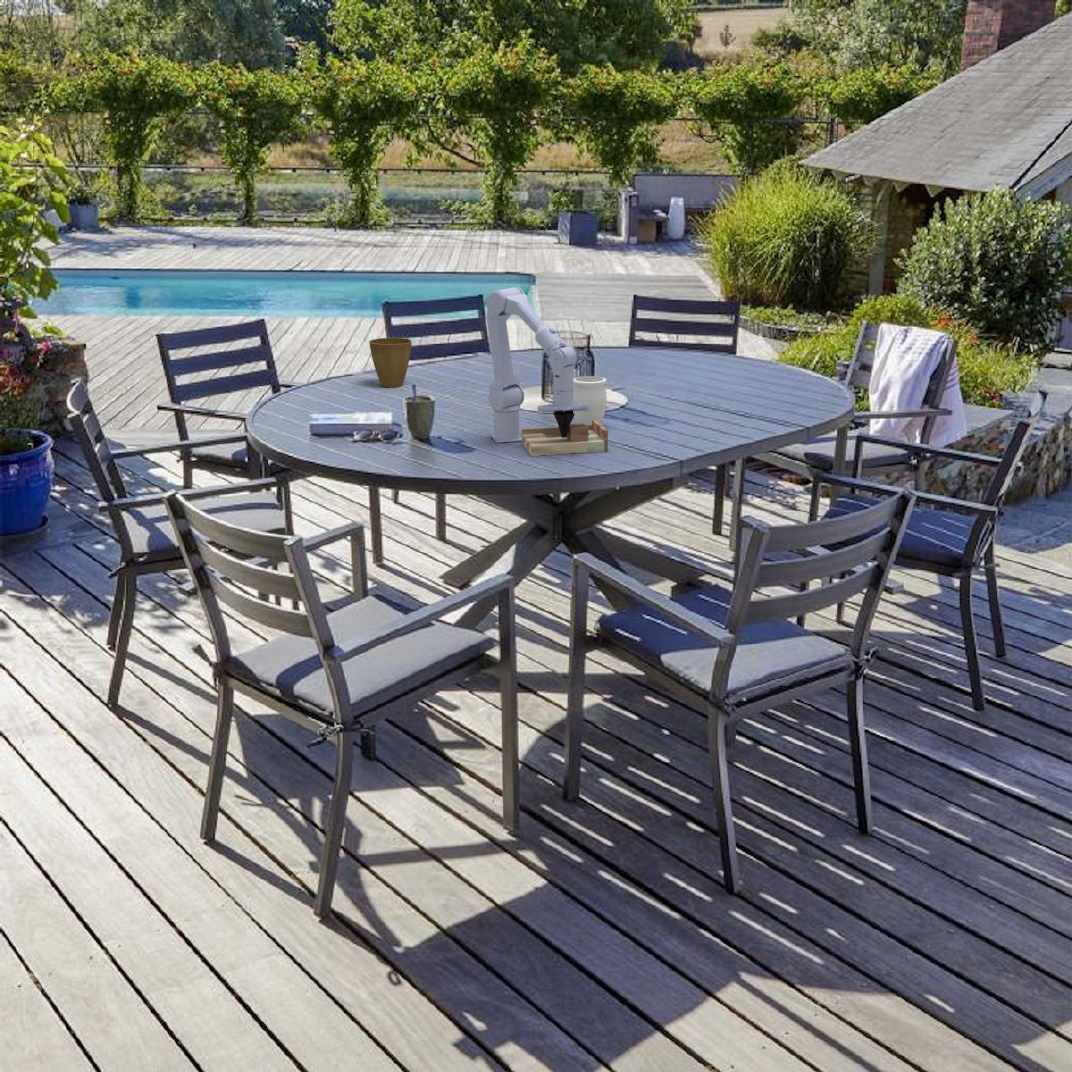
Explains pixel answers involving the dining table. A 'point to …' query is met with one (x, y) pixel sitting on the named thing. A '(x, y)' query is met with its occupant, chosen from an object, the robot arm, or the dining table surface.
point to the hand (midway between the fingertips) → (563, 436)
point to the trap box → (564, 441)
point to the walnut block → (577, 433)
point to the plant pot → (391, 359)
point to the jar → (590, 398)
